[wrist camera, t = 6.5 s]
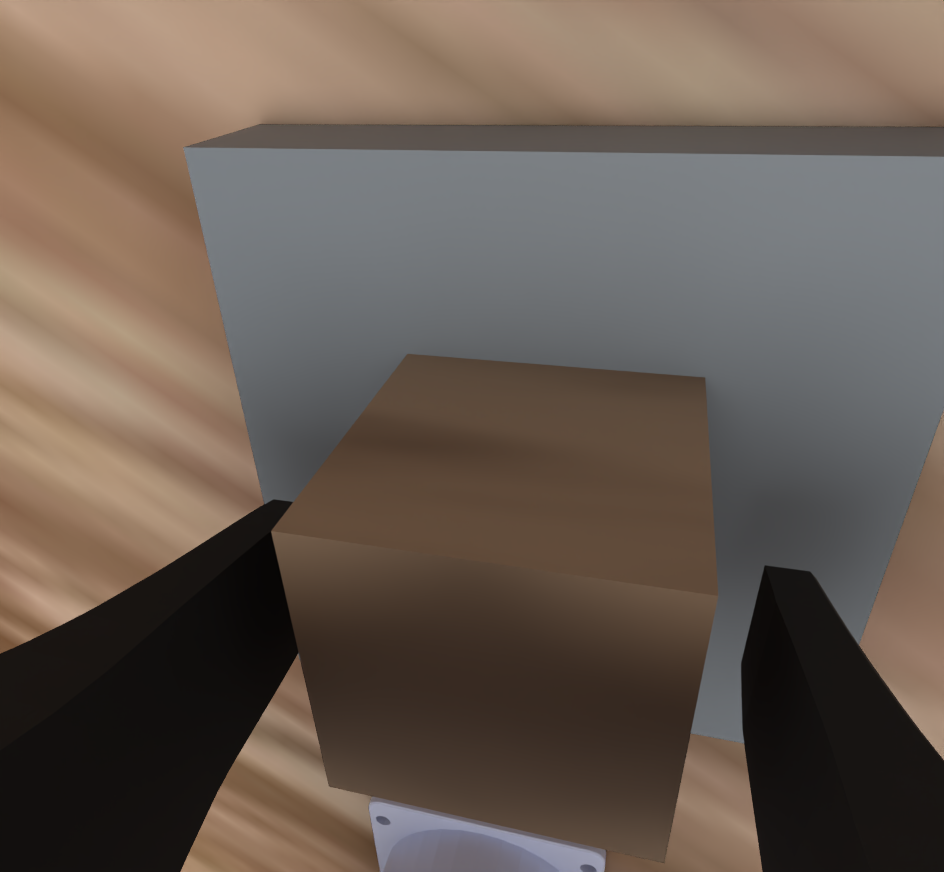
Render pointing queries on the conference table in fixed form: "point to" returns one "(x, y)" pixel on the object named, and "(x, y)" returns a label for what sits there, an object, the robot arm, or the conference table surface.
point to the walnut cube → (511, 595)
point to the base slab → (611, 308)
